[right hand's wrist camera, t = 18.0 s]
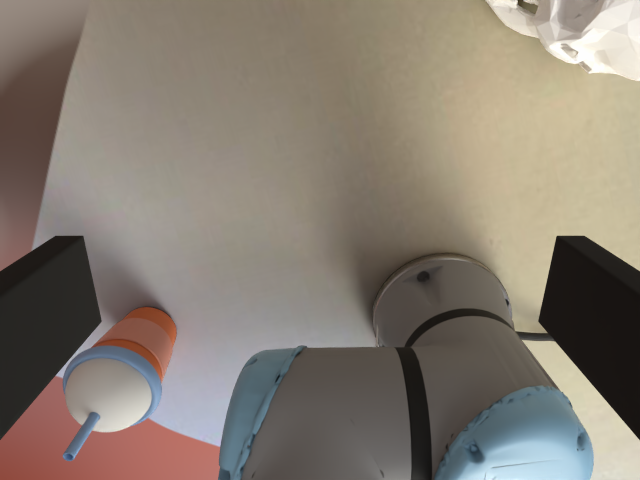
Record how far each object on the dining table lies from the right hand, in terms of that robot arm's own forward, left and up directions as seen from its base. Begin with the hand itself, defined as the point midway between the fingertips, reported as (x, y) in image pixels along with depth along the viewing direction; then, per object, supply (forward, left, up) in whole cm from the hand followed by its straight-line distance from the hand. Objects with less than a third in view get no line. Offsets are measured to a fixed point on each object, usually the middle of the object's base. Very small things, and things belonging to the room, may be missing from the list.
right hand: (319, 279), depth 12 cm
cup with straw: (+11, +28, -33) cm, 45 cm away
